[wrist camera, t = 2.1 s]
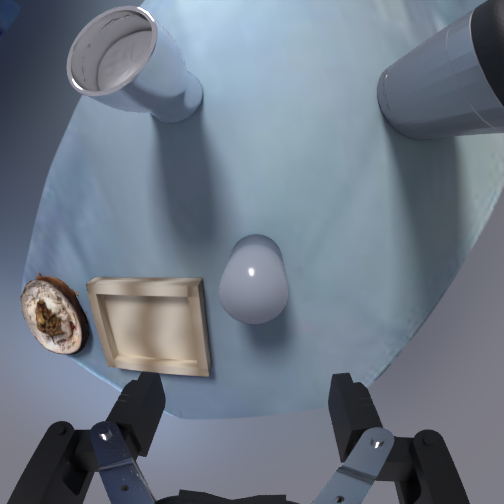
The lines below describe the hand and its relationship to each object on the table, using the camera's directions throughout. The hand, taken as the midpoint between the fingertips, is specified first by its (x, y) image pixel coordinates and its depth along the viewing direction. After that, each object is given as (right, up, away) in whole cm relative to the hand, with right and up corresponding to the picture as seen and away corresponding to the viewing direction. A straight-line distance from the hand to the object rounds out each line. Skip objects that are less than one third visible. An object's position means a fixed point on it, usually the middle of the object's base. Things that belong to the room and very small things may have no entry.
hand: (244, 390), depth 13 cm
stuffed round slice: (-28, -3, +24) cm, 37 cm away
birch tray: (-12, -3, +22) cm, 25 cm away
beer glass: (-8, +23, +15) cm, 28 cm away
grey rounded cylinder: (+1, +5, +19) cm, 20 cm away
